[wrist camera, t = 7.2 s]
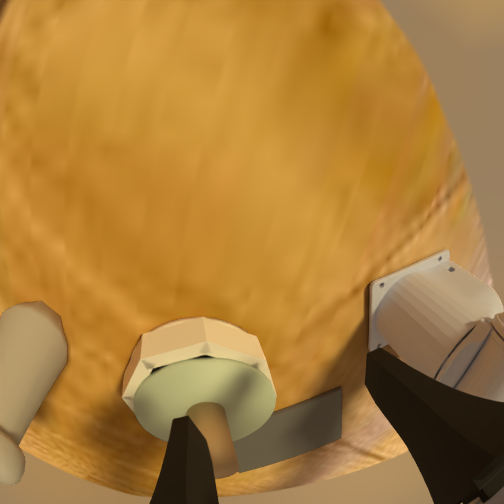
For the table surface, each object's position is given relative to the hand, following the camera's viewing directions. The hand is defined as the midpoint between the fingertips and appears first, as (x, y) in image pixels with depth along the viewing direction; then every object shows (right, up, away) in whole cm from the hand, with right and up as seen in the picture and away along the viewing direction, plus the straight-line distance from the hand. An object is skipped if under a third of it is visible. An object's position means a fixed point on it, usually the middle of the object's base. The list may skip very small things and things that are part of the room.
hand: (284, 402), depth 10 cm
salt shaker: (-17, 0, +7) cm, 18 cm away
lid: (-5, -6, +9) cm, 12 cm away
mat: (+2, -15, +19) cm, 24 cm away
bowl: (-6, -4, +12) cm, 13 cm away
